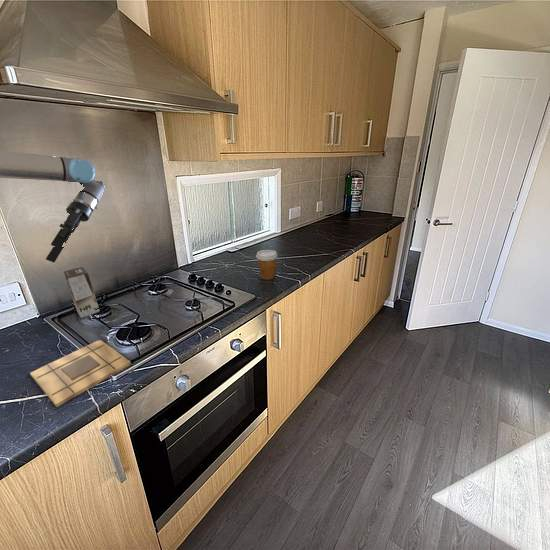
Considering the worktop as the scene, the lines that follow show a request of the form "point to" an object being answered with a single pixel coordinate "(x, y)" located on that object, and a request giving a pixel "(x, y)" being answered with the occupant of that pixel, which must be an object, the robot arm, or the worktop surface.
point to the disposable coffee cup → (267, 263)
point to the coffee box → (81, 291)
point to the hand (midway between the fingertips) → (52, 253)
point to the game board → (78, 371)
